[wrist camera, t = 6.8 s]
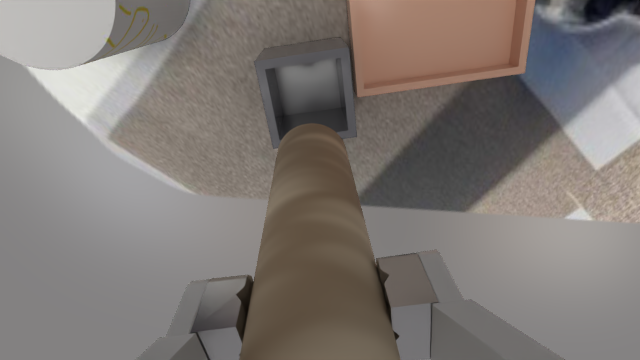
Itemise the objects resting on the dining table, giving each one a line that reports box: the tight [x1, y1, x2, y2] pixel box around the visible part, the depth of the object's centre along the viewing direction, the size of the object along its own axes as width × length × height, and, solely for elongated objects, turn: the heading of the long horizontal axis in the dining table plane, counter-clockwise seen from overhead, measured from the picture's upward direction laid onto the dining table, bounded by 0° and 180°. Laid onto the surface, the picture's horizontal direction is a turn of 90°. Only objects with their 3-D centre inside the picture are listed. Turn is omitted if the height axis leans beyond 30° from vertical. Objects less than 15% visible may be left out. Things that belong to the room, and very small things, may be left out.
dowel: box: [239, 123, 401, 360], centre depth 11 cm, size 3×3×12 cm
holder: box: [254, 37, 357, 149], centre depth 27 cm, size 6×6×7 cm
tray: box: [346, 0, 535, 97], centre depth 27 cm, size 14×11×2 cm
